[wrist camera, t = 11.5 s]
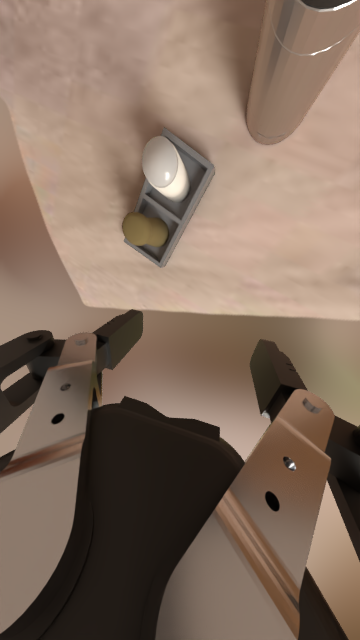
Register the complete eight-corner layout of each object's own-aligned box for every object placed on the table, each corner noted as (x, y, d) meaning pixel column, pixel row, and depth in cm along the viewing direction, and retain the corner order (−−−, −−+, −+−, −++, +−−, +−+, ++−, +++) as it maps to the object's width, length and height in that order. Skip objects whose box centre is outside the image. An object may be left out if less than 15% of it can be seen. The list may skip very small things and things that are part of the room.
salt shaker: (164, 166, 30) (140, 133, 21) (192, 167, 29) (179, 134, 20) (162, 201, 33) (140, 185, 24) (188, 204, 32) (175, 188, 23)
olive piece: (139, 233, 36) (110, 229, 27) (155, 210, 34) (128, 197, 24) (158, 253, 37) (135, 256, 28) (174, 232, 35) (155, 227, 25)
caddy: (169, 137, 29) (163, 126, 26) (215, 172, 29) (214, 165, 27) (130, 241, 39) (123, 241, 36) (165, 266, 39) (160, 267, 37)
